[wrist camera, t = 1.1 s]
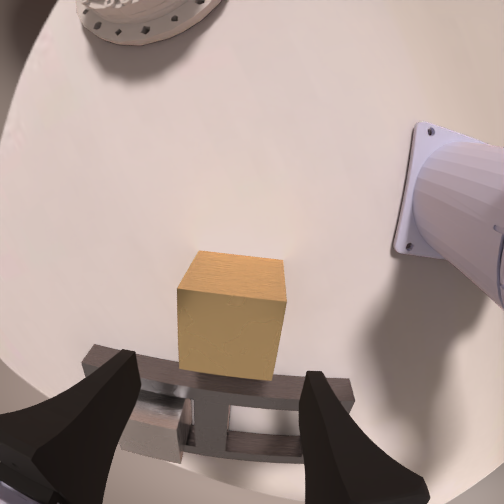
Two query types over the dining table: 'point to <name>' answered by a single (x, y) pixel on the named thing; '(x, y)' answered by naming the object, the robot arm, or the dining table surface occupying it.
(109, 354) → the grey tray
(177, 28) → the mechanical component
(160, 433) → the silver gray cube
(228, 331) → the brushed gold cube
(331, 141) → the dining table surface
